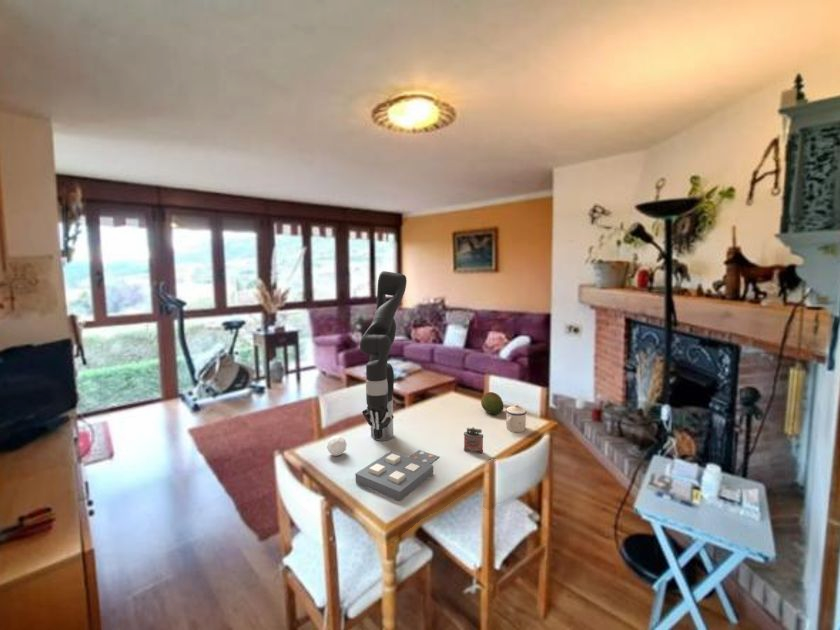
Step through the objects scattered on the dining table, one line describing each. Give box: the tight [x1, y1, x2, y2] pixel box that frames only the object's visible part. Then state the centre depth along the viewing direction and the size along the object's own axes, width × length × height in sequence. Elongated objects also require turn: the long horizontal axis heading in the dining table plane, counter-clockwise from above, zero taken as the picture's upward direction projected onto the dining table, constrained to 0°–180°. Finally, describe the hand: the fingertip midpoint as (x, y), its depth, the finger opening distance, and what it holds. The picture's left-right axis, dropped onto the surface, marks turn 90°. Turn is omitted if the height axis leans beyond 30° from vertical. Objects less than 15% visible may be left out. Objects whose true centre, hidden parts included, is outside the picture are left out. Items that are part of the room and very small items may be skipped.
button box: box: [354, 450, 434, 502], centre depth 145 cm, size 20×20×4 cm
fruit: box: [480, 391, 504, 415], centre depth 205 cm, size 12×13×10 cm
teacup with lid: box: [505, 403, 527, 433], centre depth 184 cm, size 12×9×12 cm
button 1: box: [386, 454, 401, 465], centre depth 151 cm, size 4×4×3 cm
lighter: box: [463, 426, 484, 455], centre depth 164 cm, size 8×3×10 cm, turn 69°
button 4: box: [389, 471, 405, 484], centre depth 139 cm, size 4×4×3 cm
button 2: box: [405, 463, 420, 472], centre depth 146 cm, size 4×4×3 cm
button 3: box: [369, 464, 385, 476], centre depth 144 cm, size 4×4×3 cm
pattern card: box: [408, 449, 440, 465], centre depth 160 cm, size 10×8×1 cm
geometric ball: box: [326, 435, 348, 457], centre depth 163 cm, size 8×8×8 cm
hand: (378, 438), depth 142 cm, fingers closed
